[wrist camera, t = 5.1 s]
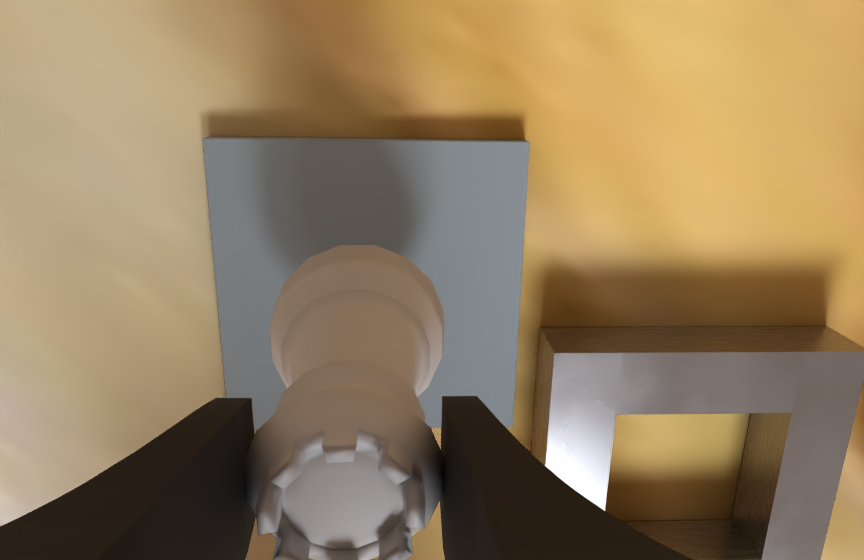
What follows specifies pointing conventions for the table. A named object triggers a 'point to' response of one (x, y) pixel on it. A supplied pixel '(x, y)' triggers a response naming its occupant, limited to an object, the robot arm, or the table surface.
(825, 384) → the square collar
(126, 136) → the table surface
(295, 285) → the rook chess piece
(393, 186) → the mat
